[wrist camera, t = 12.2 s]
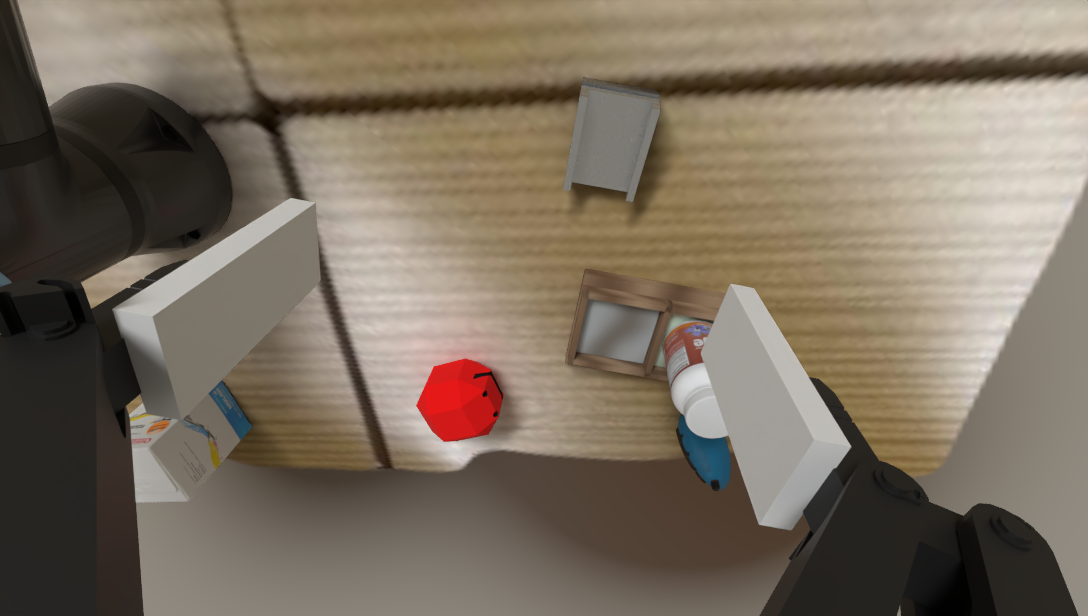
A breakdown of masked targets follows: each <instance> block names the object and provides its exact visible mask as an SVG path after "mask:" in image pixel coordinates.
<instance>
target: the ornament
mask: <svg viewBox="0 0 1088 616" xmlns="http://www.w3.org/2000/svg"><path fill="white" fill-rule="evenodd" d="M678 427H679V428H677V429H676V432H677V436H678V440H679V443H680V446H681V449H682V451H683V453H684V456H685V458H686V459H687V461H688V463H689V465H690V466H691V468H692V469H693V470H695V472H696V474H697V476H698V477H699V478H700V479H701V480H702V481H703V482H704V483H707V484H709V485H710V486H711V487H712V489H713V490H715V491H718V490H721V489H723V488H725V487H726V486H727V485H728V482H729V479H730V472H731V469H730V468H731V463H730V453H729V449H728V445H727V441H726V439H725V437H721V438H704V437H701V436H698V435H696V434H695V433H693V432H692V431H691V430H690V429H689V427H688V426H687V423H686V420H685V417H684V415H683V414H681V416H680V418H679V423H678Z"/></svg>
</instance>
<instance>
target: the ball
mask: <svg viewBox="0 0 1088 616" xmlns="http://www.w3.org/2000/svg"><path fill="white" fill-rule="evenodd" d="M503 396H504V395H503V393H502V392H501V390H500V388H499V386H498V384H497V382H496V380H495V378H494V376H493V374H492V372H491V370H490V369H489V368H487V367H485V366H484V365H482V364H480V363H478V362H475V361H472V360H468V359H462V360H458V361H454V362H450V363H446V364H442V365H438V366H434V367H433V370H432V372H431V374H430V376H429V378H428V381H427V383H426V385H425V387H424V390H423V392H422V394H421V396H420V399H419V401H418V403H417V405H416V406H417V408H418V409H419V411H420V412H421V414H422V416H423V417H424V419H425V420H426V422H427V424H428V425H429V427H430V428H431V430H432V431H433V432H434V433H435V434H436V435H437V436H438V437H439V438H440V439H442V440H443V441H444V442H448V441H459V440H464V439H469V438H473V437H478V436H483V435H488V434H489V432H490V431H491V429H492V427H493V426H494V424H495V422H496V420H497V419H498V417H499V413H500V408H501V404H502V399H503Z"/></svg>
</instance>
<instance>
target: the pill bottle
mask: <svg viewBox="0 0 1088 616" xmlns="http://www.w3.org/2000/svg"><path fill="white" fill-rule="evenodd" d="M712 325H713V324H711V323H709V322H706V321H700V320H691V321H686V322H683V323H680V324H678V325H676V326H675V327H673V328H672V329H671V330H670V331H669V332H668V334H667V335H666V337H665V339H664V342H663V354H664V359H665V364H666V370H667V375H668V380H669V385H670V391H671V396H672V400H673V403H674V405H675V407H676V408H677V410H678V411H679V412H680V413H681V414H683V415H684V417H685V420H686V423H687V426H688V427H689V429H690V430H691V431H692V432H693V433H695V434H696V435H698V436H701V437H704V438H721V437H725V436H728V432H727V429H726V426H725V423H724V420H723V417H722V415H721V412H720V409H719V406H718V403H717V400H716V397H715V394H714V391H713V388H712V385H711V382H710V379H709V376H708V373H707V370H706V368H705V365H704V362H703V359H702V356H701V351H702V349H703V346H704V344H705V342H706V339H707V337H708V335H709V332H710V330H711V328H712Z"/></svg>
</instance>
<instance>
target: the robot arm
mask: <svg viewBox="0 0 1088 616" xmlns="http://www.w3.org/2000/svg"><path fill="white" fill-rule="evenodd" d="M231 202H232V190H231V183H230V178H229V174H228V171H227V168H226V165H225V163H224V161H223V158H222V156H221V154H220V153H219V151H218V149H217V147H216V146H215V144H214V143H213V141H212V140H211V138H210V137H209V136H208V134H207V133H206V132H205V131H204V129H203V128H202V127H201V126H200V125H199V124H198V123H197V122H196V121H195V120H194V119H193V118H192V117H191V116H190V115H189V114H188V113H187V112H186V111H184V110H183V109H182V108H181V107H179V106H178V105H177V104H175V103H174V102H172V101H171V100H169V99H167V98H166V97H164V96H162V95H160V94H158V93H156V92H154V91H152V90H149V89H147V88H144V87H140V86H137V85H133V84H127V83H108V84H101V85H94V86H87V87H83V88H80V89H77V90H75V91H72V92H70V93H69V94H67V95H66V96H64V97H63V98H61V99H60V100H58V101H57V102H55V103H54V104H52V105H51V106H49V107H48V104H47V100H46V97H45V94H44V90H43V87H42V83H41V80H40V77H39V73H38V70H37V66H36V63H35V59H34V56H33V53H32V49H31V46H30V42H29V39H28V36H27V32H26V29H25V25H24V22H23V18H22V15H21V12H20V8H19V5H18V1H17V0H0V333H1V335H0V616H144V613H143V599H142V585H141V570H140V557H139V543H138V528H137V514H136V499H135V484H134V470H133V455H132V441H131V427H130V417H129V414H128V411H127V408H126V405H128V404H129V403H130V402H131V401H132V400H133V399H135V398H136V397H137V396H138V395H139V394H140V395H141V398H142V401H143V404H144V407H145V410H146V413H147V414H149V415H155V416H160V417H166V418H171V419H177V420H183V419H184V418H185V417H186V416H187V415H188V414H189V413H190V412H191V411H192V410H193V409H194V408H195V407H196V406H197V405H198V404H199V403H200V402H201V401H202V400H203V399H204V398H205V397H206V396H207V394H208V393H209V392H210V391H211V390H212V389H213V388H214V387H215V386H216V385H217V384H218V383H219V382H220V381H221V380H222V379H223V378H224V377H225V376H226V375H227V374H228V373H229V372H230V371H231V370H232V369H233V368H234V367H235V366H236V365H237V364H238V363H239V362H240V361H241V360H242V359H243V358H244V357H245V356H246V355H247V354H248V353H249V352H250V351H251V350H252V349H253V348H254V347H255V346H256V345H257V344H258V343H259V342H260V341H261V340H262V339H263V338H264V337H265V336H266V335H267V334H268V333H269V332H270V331H271V330H272V329H273V328H274V327H275V326H276V325H277V324H278V323H279V322H280V321H281V320H282V319H283V318H284V317H285V316H286V315H287V314H288V313H289V312H290V311H291V310H292V309H293V308H294V307H295V306H296V305H297V304H298V303H299V302H300V301H301V300H302V299H303V298H304V297H305V296H306V295H307V294H308V293H309V292H310V291H311V290H312V289H313V288H314V287H315V286H316V285H317V284H318V283H319V282H320V281H321V279H320V264H319V249H318V234H317V220H316V205H315V203H314V202H309V201H303V200H298V199H293V198H290V199H288V200H286V201H285V202H283V203H282V204H280V205H278V206H277V207H275V208H274V209H272V210H270V211H269V212H267V213H266V214H264V215H262V216H261V217H259V218H258V219H256V220H254V221H253V222H251V223H250V224H248V225H246V226H245V227H243V228H241V229H240V230H238V231H237V232H235V233H233V234H232V235H230V236H229V237H227V238H225V239H224V240H222V241H221V242H219V243H217V244H216V245H214V246H213V247H211V248H209V249H208V250H206V251H205V252H203V253H201V254H200V255H198V256H197V257H195V258H193V259H192V260H190V261H188V260H182V261H179V262H176V263H173V264H170V265H167V266H164V267H161V268H159V269H158V270H156V271H154V272H153V273H151V274H149V275H148V276H146V277H145V278H144V280H142V279H141V280H139V281H137V282H136V283H134V284H132V285H131V287H130V288H126V289H124V290H122V291H121V292H119V293H117V294H116V295H114V296H112V297H111V298H109V299H107V300H106V301H104V302H102V303H101V304H99V305H97V306H96V307H94V308H92V309H91V307H90V305H89V302H88V299H87V296H86V293H85V291H84V288H83V286H82V284H81V282H83V281H85V280H86V279H88V278H90V277H92V276H94V275H96V274H98V273H100V272H101V271H103V270H105V269H107V268H109V267H111V266H113V265H115V264H117V263H118V262H120V261H122V260H124V259H126V258H128V257H130V256H136V255H143V254H151V253H158V252H166V251H173V250H180V249H185V248H188V247H191V246H194V245H196V244H198V243H200V242H201V241H203V240H205V239H207V238H208V237H210V236H212V235H213V234H215V233H216V232H217V231H218V230H219V229H220V228H221V227H222V226H223V225H224V223H225V221H226V220H227V218H228V215H229V212H230V208H231ZM701 356H702V359H703V362H704V365H705V368H706V370H707V373H708V376H709V379H710V382H711V385H712V388H713V391H714V394H715V397H716V400H717V403H718V406H719V409H720V412H721V415H722V417H723V420H724V423H725V426H726V429H727V432H728V435H729V438H730V441H731V444H732V447H733V450H734V453H735V455H736V458H737V461H738V465H739V467H740V470H741V473H742V476H743V479H744V482H745V485H746V488H747V491H748V494H749V497H750V500H751V503H752V505H753V509H754V512H755V514H756V517H757V520H758V523H759V524H760V525H764V526H770V527H775V528H781V529H787V530H792V529H793V527H794V526H795V525H796V523H797V522H798V520H799V519H800V518H801V516H802V515H803V513H804V515H805V517H806V520H807V522H808V524H809V526H810V531H809V532H808V534H807V535H806V536H805V537H804V539H803V540H802V541H801V543H800V544H799V545H798V547H797V548H796V549H795V551H794V552H793V554H792V555H791V556H790V557H789V559H790V560H791V562H790V563H789V565H788V567H787V569H786V570H785V572H784V574H783V575H782V577H781V579H780V581H779V582H778V584H777V586H776V588H775V590H774V591H773V593H772V595H771V596H770V598H769V600H768V602H767V604H766V605H765V607H764V609H763V611H762V612H761V614H760V616H897V613H898V610H899V606H900V609H901V616H1078V614H1077V611H1076V608H1075V606H1074V603H1073V601H1072V598H1071V596H1070V593H1069V591H1068V588H1067V586H1066V583H1065V581H1064V578H1063V576H1062V573H1061V571H1060V568H1059V566H1058V563H1057V561H1056V558H1055V556H1054V553H1053V551H1052V550H1051V548H1050V547H1049V545H1048V543H1047V542H1046V540H1045V539H1044V538H1043V537H1042V536H1041V535H1040V534H1039V533H1038V532H1037V531H1035V529H1034V528H1033V527H1032V526H1031V525H1029V524H1028V523H1026V522H1024V520H1023V519H1021V518H1020V517H1018V516H1016V515H1013V514H1012V513H1010V512H1008V511H1006V510H1005V509H1002V508H999V507H996V506H994V505H991V504H980V503H979V504H977V505H975V506H973V507H972V508H971V509H970V510H969V511H968V512H967V513H966V514H965V515H964V516H962V515H960V514H957V513H955V512H953V511H950V510H948V509H945V508H943V507H940V506H938V505H935V504H933V503H931V502H929V499H928V497H927V495H926V494H925V492H924V490H923V489H922V487H921V486H920V485H919V484H918V483H917V482H916V481H915V480H914V479H913V478H912V477H910V476H909V475H907V474H906V473H905V472H903V471H902V470H900V469H899V468H896V467H894V466H892V465H890V464H888V463H886V462H882V461H879V460H878V458H877V457H876V455H875V454H874V452H873V451H872V449H871V448H870V446H869V445H868V443H867V442H866V440H865V438H864V437H863V435H862V434H861V432H860V431H859V429H858V428H857V426H856V425H855V423H852V419H851V417H850V416H849V414H848V413H847V411H845V410H844V407H843V405H842V404H841V402H840V400H839V399H838V397H837V396H836V394H835V393H834V392H833V391H832V390H831V389H829V388H828V387H827V386H826V385H825V384H824V383H823V382H822V381H820V380H819V379H816V378H811V377H808V375H807V374H806V372H805V371H804V369H803V367H802V366H801V364H800V362H799V361H798V359H797V358H796V356H795V354H794V353H793V351H792V349H791V348H790V346H789V345H788V343H787V341H786V340H785V338H784V336H783V335H782V333H781V332H780V330H779V328H778V327H777V325H776V323H775V322H774V320H773V319H772V317H771V315H770V314H769V312H768V310H767V309H766V307H765V306H764V304H763V302H762V301H761V299H760V297H759V296H758V294H757V293H756V291H755V289H754V288H750V287H745V286H740V285H734V284H730V286H729V288H728V290H727V293H726V295H725V297H724V300H723V302H722V304H721V307H720V309H719V311H718V314H717V316H716V318H715V321H714V323H713V325H712V328H711V330H710V332H709V335H708V337H707V339H706V342H705V344H704V346H703V349H702V351H701Z"/></svg>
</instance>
